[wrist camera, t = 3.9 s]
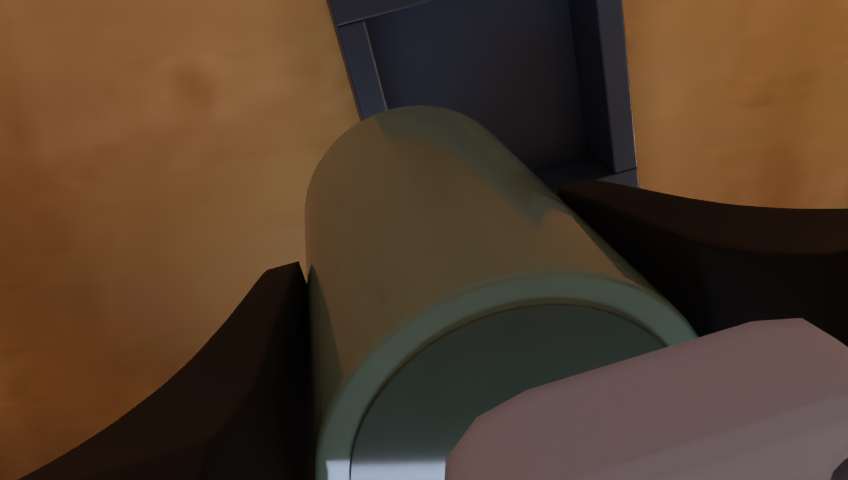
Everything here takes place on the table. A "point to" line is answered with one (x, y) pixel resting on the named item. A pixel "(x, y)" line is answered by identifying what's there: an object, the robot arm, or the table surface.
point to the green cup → (450, 292)
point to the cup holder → (503, 75)
